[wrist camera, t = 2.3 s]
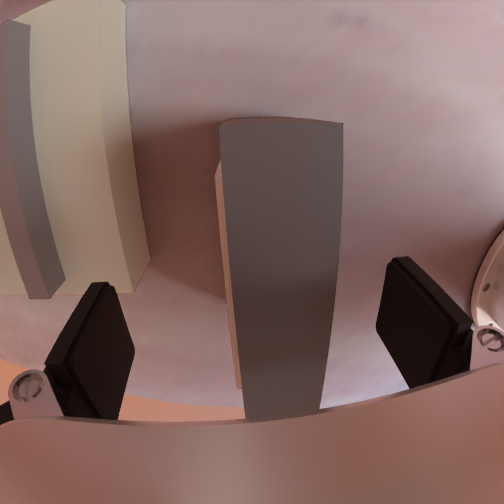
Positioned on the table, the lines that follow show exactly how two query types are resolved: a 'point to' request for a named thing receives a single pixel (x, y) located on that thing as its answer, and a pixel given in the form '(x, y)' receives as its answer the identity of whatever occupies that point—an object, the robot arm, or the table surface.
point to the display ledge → (67, 153)
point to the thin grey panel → (280, 255)
